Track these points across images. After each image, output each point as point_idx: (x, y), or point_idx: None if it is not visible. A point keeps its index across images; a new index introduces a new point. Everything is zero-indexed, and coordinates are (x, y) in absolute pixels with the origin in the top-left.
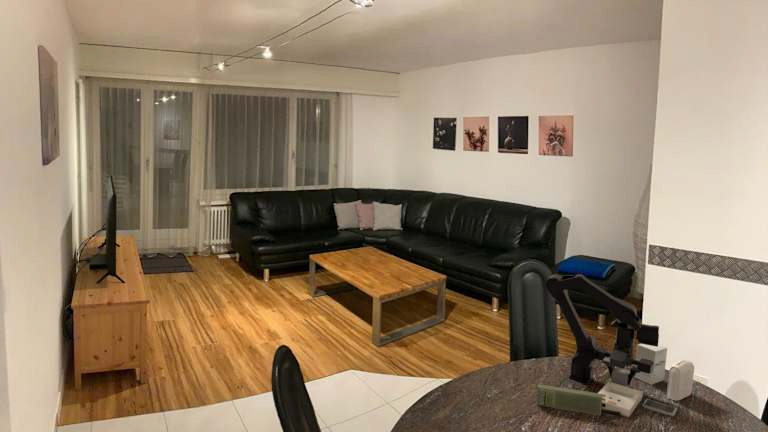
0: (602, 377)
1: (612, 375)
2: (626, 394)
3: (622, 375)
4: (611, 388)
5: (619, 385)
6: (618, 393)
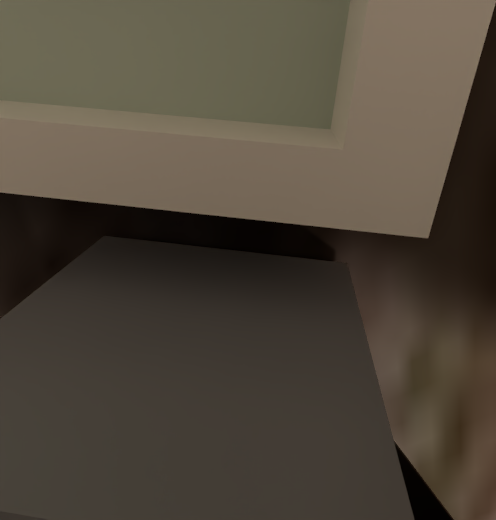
0: (485, 482)
1: (368, 430)
2: (33, 76)
3: (12, 471)
4: (320, 133)
5: (137, 153)
6: (159, 11)
